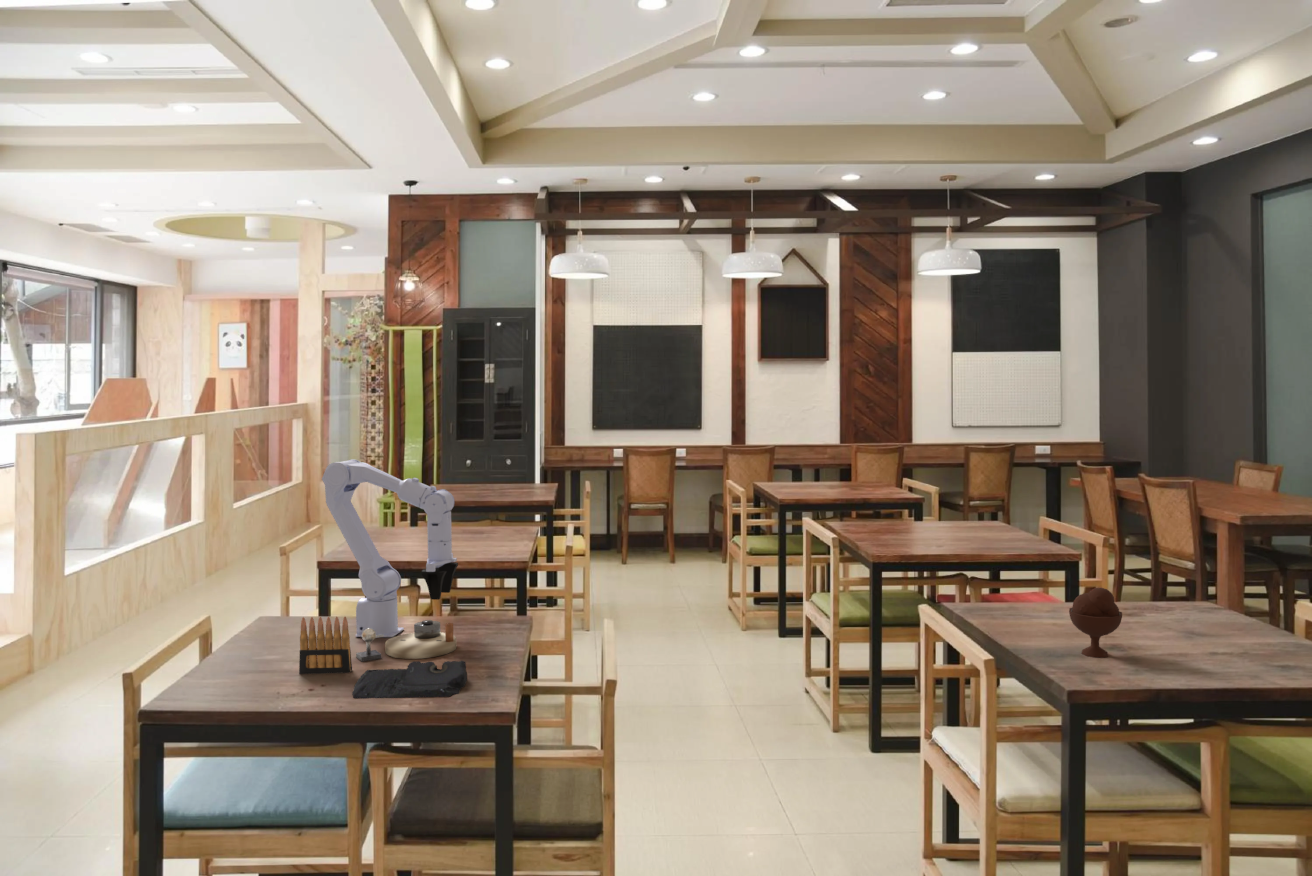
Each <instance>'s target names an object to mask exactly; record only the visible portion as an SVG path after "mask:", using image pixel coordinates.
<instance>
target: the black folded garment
mask: <svg viewBox="0 0 1312 876" xmlns="http://www.w3.org/2000/svg"><path fill="white" fill-rule="evenodd" d="M466 663H467V662H466V661H464V660H460V661H456V660H453V661H447V660H446V661H444V662H443V663H442V664H441V669H440V668H438V666H437V665H436V663H435V662H434V661H426V662H421V661H419V660H418V661H415V660H414V661H411V662H410V663H408V665H407V666H406V667H407V668H397V669H395V668H390V669H389V668H388V669H387V668H386V669H385V668H384V669H367V670H365V672H363V673H362V674H361V675H360V677H359V678H358V679H357V681H356V683H355V685H354V686H353V690H352V692H351V694H352V698H353V699H406V698H407V699H409V698H410V699H411V698H416V699H417V698H449V697H451V696H453V695H454V696H455V695H460V691H461V689H463V688H465V686H466V684H467V681H468V673H467V664H466Z"/></svg>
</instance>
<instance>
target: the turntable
mask: <svg viewBox="0 0 1312 876" xmlns="http://www.w3.org/2000/svg"><path fill="white" fill-rule="evenodd" d="M444 624H445V625H444V626H445V627H444V630H445V632H441V631H440V632H441V635H440V636H439V637H436V638H430V639H419V638H415V637H414V632H410V633H404V634H400V635H397V636H396V635H395V636H394V637H389V638H388V639H387V640H386V641H385V643H384V648H385V649H384V651H385V655H387V656H389V657H391V658H396V659H401V660H402V659H404V660H405V659H406V660H415V659H416V660H418V659H419V660H420V659H430V658H434V657H441V656H444V655H447V654H450V653H452V652H454V651H456V649H457V637H456V635H454V623H453V622H447V623H444Z"/></svg>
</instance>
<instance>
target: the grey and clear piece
mask: <svg viewBox="0 0 1312 876" xmlns="http://www.w3.org/2000/svg"><path fill="white" fill-rule="evenodd" d="M361 638H362V640H363V641H364V642H365V646H366V647H365V648H366V650H365V651H360V652H355V658H357V660H358V661H360V662H361V663H362V662H370V661H376V660H381V659H382V653H381V652H379V651H378V650H376V649H371V647H372V646H371V643H372V642H373V641H374V640H375V639H377V638H385V637H384V635H383V634H380V635H376V632H375V631H374V630H373V629H371V628H367V629H365V630H364V631H363V633H362V637H361Z"/></svg>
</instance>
